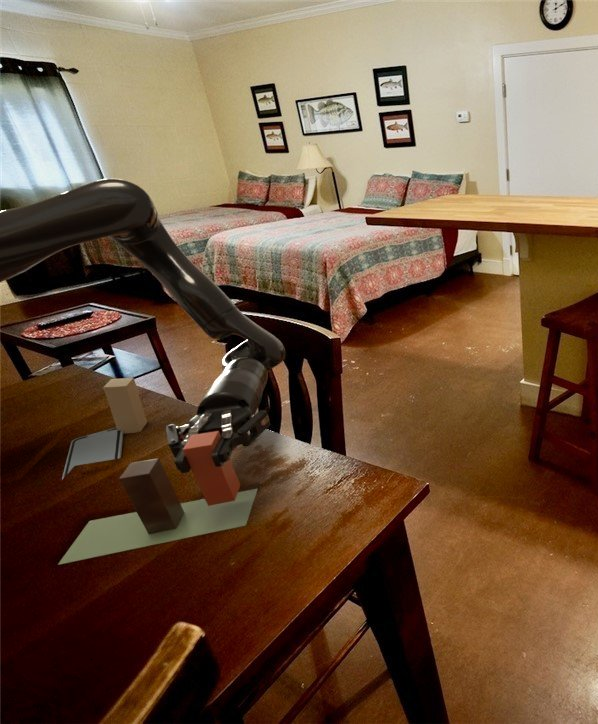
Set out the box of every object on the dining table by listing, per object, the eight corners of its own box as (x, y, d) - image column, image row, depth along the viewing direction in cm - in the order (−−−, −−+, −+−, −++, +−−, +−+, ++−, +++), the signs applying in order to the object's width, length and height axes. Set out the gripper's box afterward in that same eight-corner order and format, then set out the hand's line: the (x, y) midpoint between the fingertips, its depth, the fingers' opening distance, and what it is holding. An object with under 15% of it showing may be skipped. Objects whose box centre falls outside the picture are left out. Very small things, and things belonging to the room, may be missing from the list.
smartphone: (59, 486, 75) (71, 439, 86) (62, 490, 76) (73, 443, 86) (118, 468, 79) (122, 425, 90) (120, 472, 80) (124, 429, 90)
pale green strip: (60, 570, 62) (57, 564, 61) (92, 525, 69) (89, 520, 68) (247, 530, 68) (245, 525, 67) (259, 493, 75) (258, 488, 74)
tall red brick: (208, 506, 67) (182, 449, 62) (214, 490, 70) (190, 435, 65) (234, 500, 68) (211, 444, 63) (240, 485, 71) (218, 430, 66)
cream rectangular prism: (118, 434, 89) (102, 387, 85) (126, 424, 92) (111, 378, 87) (140, 432, 90) (126, 386, 86) (147, 422, 93) (133, 377, 89)
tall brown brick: (148, 534, 66) (118, 478, 61) (157, 517, 69) (130, 462, 64) (176, 528, 67) (149, 473, 62) (184, 512, 70) (159, 458, 65)
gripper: (174, 387, 74) (124, 452, 59) (274, 373, 77) (250, 431, 63) (191, 426, 77) (148, 497, 62) (286, 411, 81) (266, 475, 66)
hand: (199, 464), depth 63 cm, fingers closed on tall red brick, 3 cm apart
